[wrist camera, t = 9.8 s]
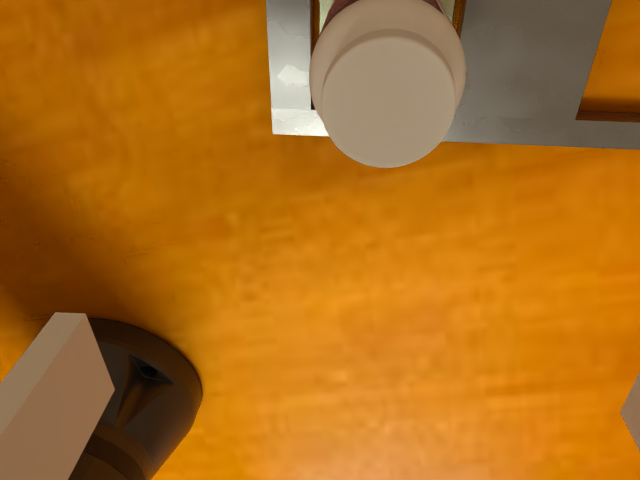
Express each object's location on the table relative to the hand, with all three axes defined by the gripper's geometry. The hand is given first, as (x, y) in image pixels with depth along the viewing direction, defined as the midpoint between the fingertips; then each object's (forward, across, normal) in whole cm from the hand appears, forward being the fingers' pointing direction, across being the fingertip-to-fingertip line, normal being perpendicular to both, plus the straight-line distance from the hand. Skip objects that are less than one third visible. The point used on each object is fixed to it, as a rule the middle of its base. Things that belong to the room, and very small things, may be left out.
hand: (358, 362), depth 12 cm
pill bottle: (+20, +1, +4) cm, 20 cm away
